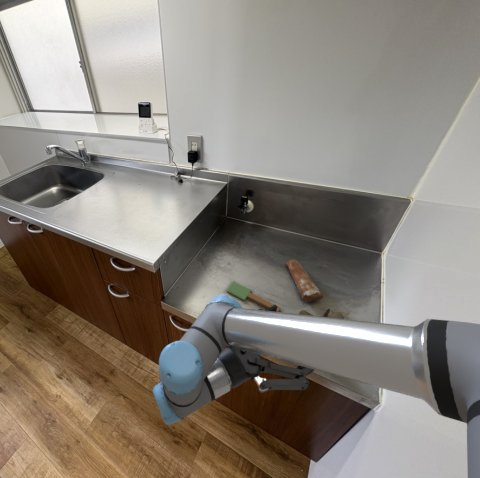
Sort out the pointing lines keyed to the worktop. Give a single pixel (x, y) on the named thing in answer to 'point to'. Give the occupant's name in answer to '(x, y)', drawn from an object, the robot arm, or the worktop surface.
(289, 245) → the worktop surface
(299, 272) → the reddish brown tapered cylinder
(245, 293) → the spatula
